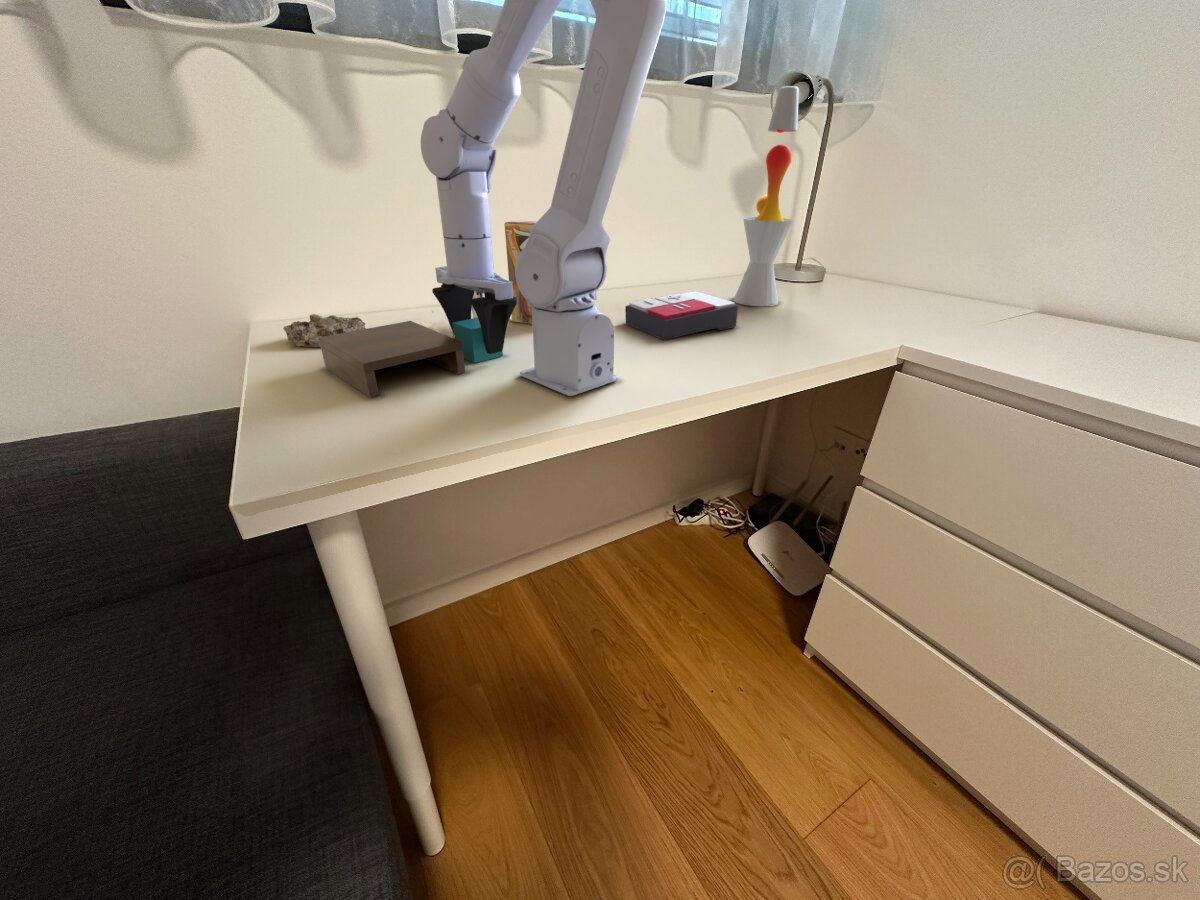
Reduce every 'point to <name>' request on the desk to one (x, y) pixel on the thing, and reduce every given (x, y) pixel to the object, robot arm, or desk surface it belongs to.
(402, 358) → the shelf
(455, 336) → the cube
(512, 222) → the candy box
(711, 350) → the desk surface
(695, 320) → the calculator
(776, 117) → the lava lamp
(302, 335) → the mineral rock
